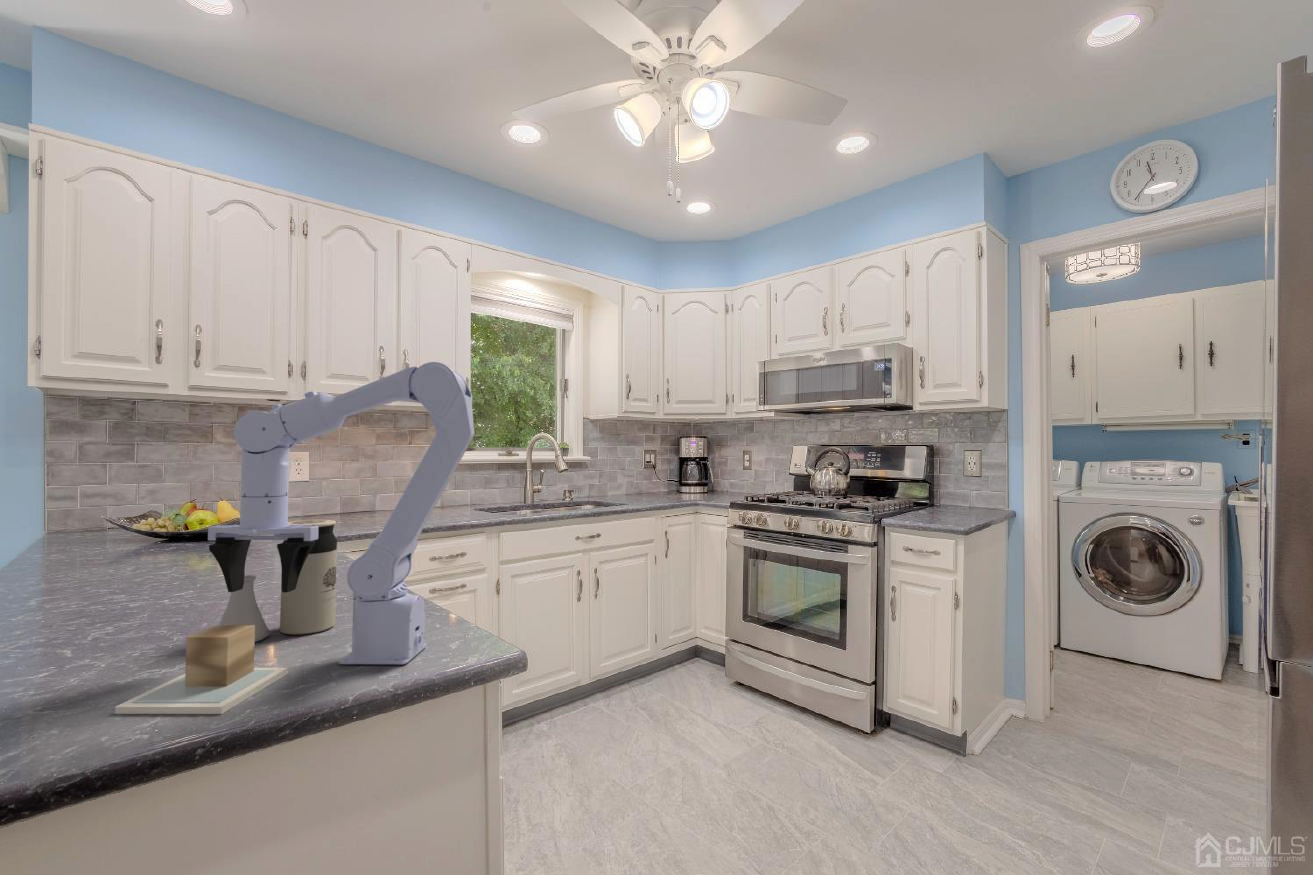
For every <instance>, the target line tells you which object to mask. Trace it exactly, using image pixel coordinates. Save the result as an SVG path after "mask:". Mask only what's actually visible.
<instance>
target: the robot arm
mask: <svg viewBox="0 0 1313 875" xmlns="http://www.w3.org/2000/svg"><path fill="white" fill-rule="evenodd" d="M303 396H304V398H302V399H299V400H297V401H296V400H295V401H293V402H291V403H287V404H284V405H282V404H279V403H278V404H275V405H272V406H271V410H270V412H267V411H263V410H257V409H256V410H251V411H249V412H248V413H247V414H244V415H242V416H241V417H240V418H239V419H238V420H237V421H236V423H235V424H234V427H233V436H234V441H235V443H237V445H238V446H239V447H240V448H241V449H242V450H241V470H240V471H241V476H240V478H241V479H240V504H239V505H240V506H239V508H240V509H239V510H240V511H239V513H240V514H239V524H234V525H233V524H231V525H227V524H226V525H223V524H222V525H214V526H213V525H212V526H208V527H207V541H214V543H212V544H209V545H208V549H209V552H210V553H211V554H212V555H213V557H214V559H215V560H216V561H217V563H218V565H219V567H220V570H221V573H222V575H223V579H224V581H225V585H226V589H227V593H231V592H235V591H238V590H241V589H243V585H244V575H245V573H246V572H245V568H246V560H247V555H248V551H249V549H250V548H249V547H250V546H251V542H252V541H284V540H287V542H284V543H283V542H280V543H277V544H276V549H277V550H278V554H279V559H280V565H281V574H282V581H281V580H280V581H281V582H280V587H281V586H282V592H290V591H293V590H295V589H296V585H297V582H298V578H299V575H300V572H301V569H302V567H303V565H304V562H305V560H306V558H307V556H308V555H309V553H310V551H311V550H312V548H313V547H314V545H315V541H314V540H316V539H318V529H319V526H304V525H288V522H289V521H288V520H289V489H290V488H289V487H290V486H289V485H290V453H291V450H292V449H293V448H294V447H295V446H296V445H297V444H299V443H303V442H306V441H308V440H311V439H314V438H317V437H320V436H322V435H325V434H327V433H330V432H334V431H336V430H339V429H341V427H342V426H343V424H344V422H345V420H346V418H347V417H350V416H353V415H356V414H359V413H363V412H365V411H366V412H367V411H369V410H372V409H376V408H379V407H381V406H385V405H388V404H391V403H395V402H398V401H404V402H411V403H417V404H421V405H422V406H423V407H424V408H425V409H426V411H427V412H428V413H429V417H430V419H431V422H432V424H433V427H434V429H435V432H436V433H435V435H434V438H433V439H432V442H431V443H430V444H429V446H428V448H427V450H426V452H425V454H424V456H423V458H422V459H421V461H420V463H419V464H418V467H417V468H416V470H415V472H414V473H413V476H412V478H410V481H409V483H408V485H407V486H406V488H405V490H404V492H403V493H402V494H401V497H400V498H399V500H398V502H397V504H396V506H395V508H394V510H393V512H392V513H391V515H390V517H389V519H388V521H387V522H386V524H385V526H384V527H383V529H382V530H381V531H380V533H378V535H377V536H376V537H375V538H374V539H373V540H372V542H371V543H370V544H369V546H368V548H367V550H366V551H365V552H364V553H363V554H362V555H360V556H359V557H358V558H356V559H355V560H354V561H353V562H352V563H351V564H350V566H349V568H348V571H347V576H346V581H347V584H348V585H347V586H348V587H349V589H350V590H351V591H352V593H353V594H352V596H353V597H352V631H351V632H352V635H351V636H352V638H351V652H349V653H348V654H346V655H345V656H344V657H342V658H340V659H339V660H338V665H406V664H407V663H409V662H410V661H411V660H412V659H414V657H416V656H417V655H418V654H419V653H420V652H421V651H423V650H424V649H425V648H426V647H427V643H426V638H425V637H426V634H425V633H426V604H425V599H424V597H423V596H421V595H418V594H412V593H408V587H407V584H406V582H405V580H406V579H407V577H409V575H410V572H411V571H412V558H413V554H414V552H415V551H416V548H417V546H418V538H419V537H420V535H421V533H422V532H423V530H424V528H425V526H426V525H427V522H429V521H428V520H429V518H430V517H431V515H432V513H433V511H434V510H435V508H436V506H437V504H438V503H439V500H440V499H441V497H442V495H443V493H444V492H445V489H446V488H447V486H448V485H449V482H450V480H451V479H452V477H453V474H454V473H455V472H456V470H457V467H458V466H459V464H460V462H461V460H462V459H463V457H464V455H465V453H466V451H467V449H468V447H469V446H470V444H471V442H472V441H473V438H474V435H475V427H474V426H475V425H474V413H473V394H472V392H471V389H470V387H469V385H468V383H467V381H466V379H465V378H464V377H463V376H462V375H461V374H460V373H458V372H456V371H453V369H452V368H451V367H449V366H448V365H446V364H445V363H442V362H437V361H429V362H426V363H424V364H422V365H420V366H419V367H418V366H409V367H407V368H405V369H401V370H400V371H399V370H398V371H397V372H395V373H392V374H390V375H386V376H384V377H382V378H379V379H377V380H374V381H372V382H370V383H367V384H364V385H362V386H359V387H357V388H354V389H352V390H349V391H347V392H345V393H342V394H339V395H337V396H334V395H332V394H329V393H327V392H319V393H318V391H314V390H312V391H308V392H306V393H304V395H303Z"/></svg>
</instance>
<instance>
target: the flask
mask: <svg viewBox="0 0 1313 875" xmlns="http://www.w3.org/2000/svg"><path fill="white" fill-rule="evenodd" d="M256 578H257V576H256V575H253V574H246V575H245V574H244V585H243V589H241V590H238V591H235V592H230V595H229V596H230V597H229V600H228V604H227V606H226V608H225V611H224V612H223V616H222V617H221V620H220V621H219V624H218V625H255V642H259V641H260V642H261V641H262V640H264V639H265V638H267V637H269V636H270V635H271V633H270V630H269V628H268V626H267V624H266V622H265V620H264V617H263V616H262V613H261V610H260V608H259V605H258V603H257V600H256V596H255V591H254V583H255V580H256Z"/></svg>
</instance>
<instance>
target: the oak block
mask: <svg viewBox="0 0 1313 875" xmlns="http://www.w3.org/2000/svg"><path fill="white" fill-rule="evenodd" d="M185 642H186V643H185V646H186V647H185V648H186V649H185V672H184V674H185V687H201V686H228V685H230V684H232V683H233V682H235V681H237V680H239V679H241V678H242V677H244V676H246V675H248V674H250V673H251V672H253V671H254V668H255V644H256V643H255V625H219V624H217V625H214V626H212V627H209V628H207V629H204V630H201V631H199V632H196V633H193V634H191V635H188V636H186V641H185Z"/></svg>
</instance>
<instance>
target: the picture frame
mask: <svg viewBox="0 0 1313 875" xmlns="http://www.w3.org/2000/svg"><path fill="white" fill-rule="evenodd" d="M287 675H289V668H288V667H254V671H253V672H251V673H250V674H248V675H246V676H244V677H242V678H241V679H239V680H237V681H235V682H233V683H232V684H230V685H228V686H201V687H185V673H184V674H182V675H179V676H177V677H175V678H172V679H170V680H169V681H166V682H165V683H162V684H160V685H158V686H156V687H154V688H152V689H150V690H148V691H145V692H143V693H141V694H139V695H137V696H134V697H133V698H131V699H128V700H127V701H125V702H122V703H120V704H117V705H116V706H114V715H223V714H224V713H226V712H227V711H229V710H231V709H232V708H234V707H236V706H238V705H239V704H241V703H242V702H244V701H246V700H248V699H249V698H251V697H252V696H254V695H256V694H257V693H259V692H260V691H262V690H264V689H266V688H267V687H269V686H271V685H272V684H273V683H275V682H277V681H278V680H280V679H282V678H283V677H285V676H287Z"/></svg>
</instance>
